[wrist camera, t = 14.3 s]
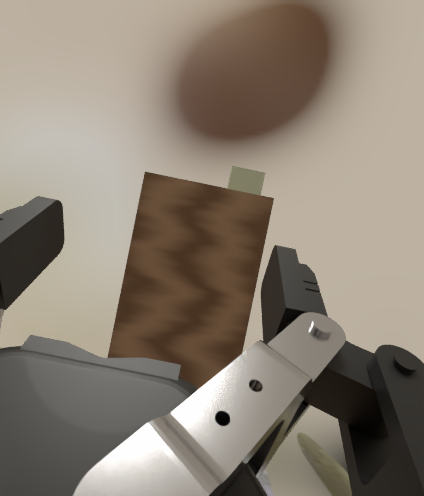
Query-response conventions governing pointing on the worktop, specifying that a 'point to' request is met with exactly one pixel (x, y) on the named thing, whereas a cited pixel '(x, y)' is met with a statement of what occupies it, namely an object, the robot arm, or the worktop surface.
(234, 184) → the sage block
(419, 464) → the robot arm
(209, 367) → the stand
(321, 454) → the worktop surface
